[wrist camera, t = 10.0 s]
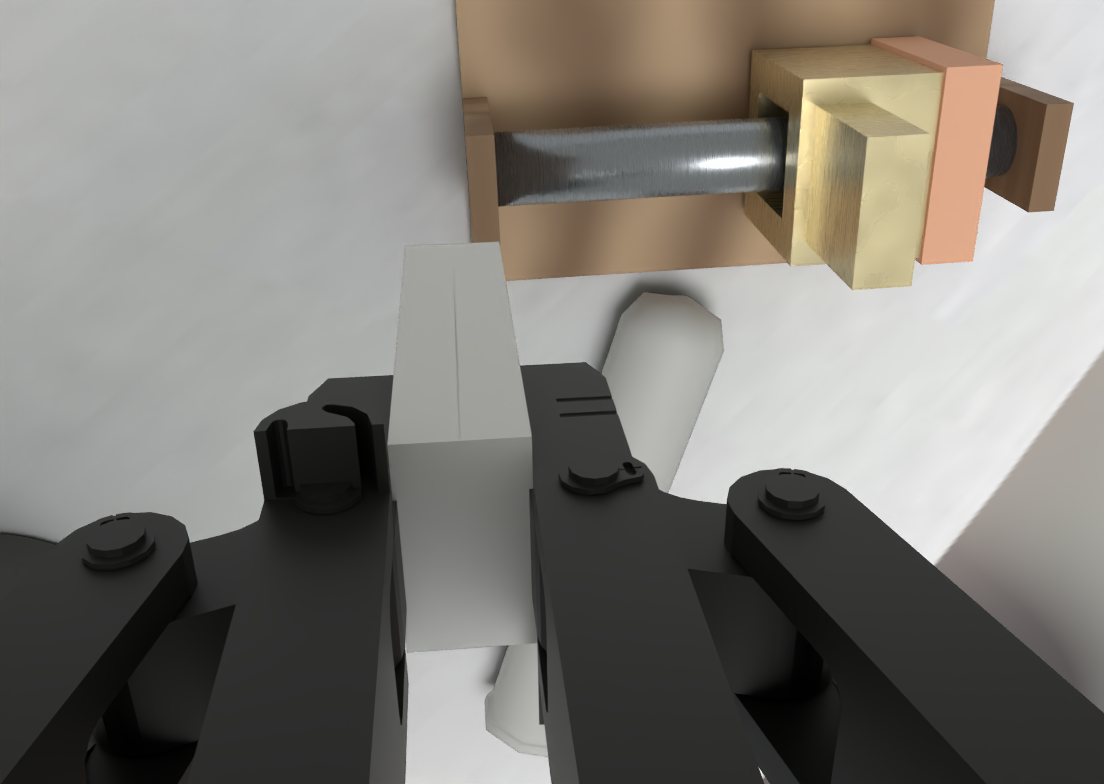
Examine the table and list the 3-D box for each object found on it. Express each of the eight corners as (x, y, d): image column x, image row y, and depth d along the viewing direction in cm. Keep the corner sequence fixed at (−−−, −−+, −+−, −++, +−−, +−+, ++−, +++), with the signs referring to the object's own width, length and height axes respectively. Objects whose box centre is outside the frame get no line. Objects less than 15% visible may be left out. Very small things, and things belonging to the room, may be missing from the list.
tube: (619, 291, 44) (470, 734, 54) (739, 334, 44) (567, 773, 53) (637, 263, 49) (497, 673, 59) (745, 301, 48) (586, 708, 58)
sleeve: (743, 213, 45) (834, 316, 35) (752, 50, 42) (854, 108, 32) (856, 206, 46) (980, 306, 35) (872, 44, 43) (1013, 99, 32)
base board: (474, 274, 47) (480, 346, 40) (454, -9, 42) (457, 14, 35) (948, 244, 48) (1035, 308, 41) (987, -33, 43) (1095, -15, 36)
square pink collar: (854, 209, 46) (921, 264, 39) (871, 38, 43) (947, 67, 36) (898, 207, 46) (972, 261, 40) (918, 36, 43) (1002, 64, 36)
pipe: (481, 198, 42) (484, 220, 39) (477, 122, 41) (479, 140, 38) (987, 168, 43) (1023, 187, 41) (999, 94, 42) (1036, 109, 39)
